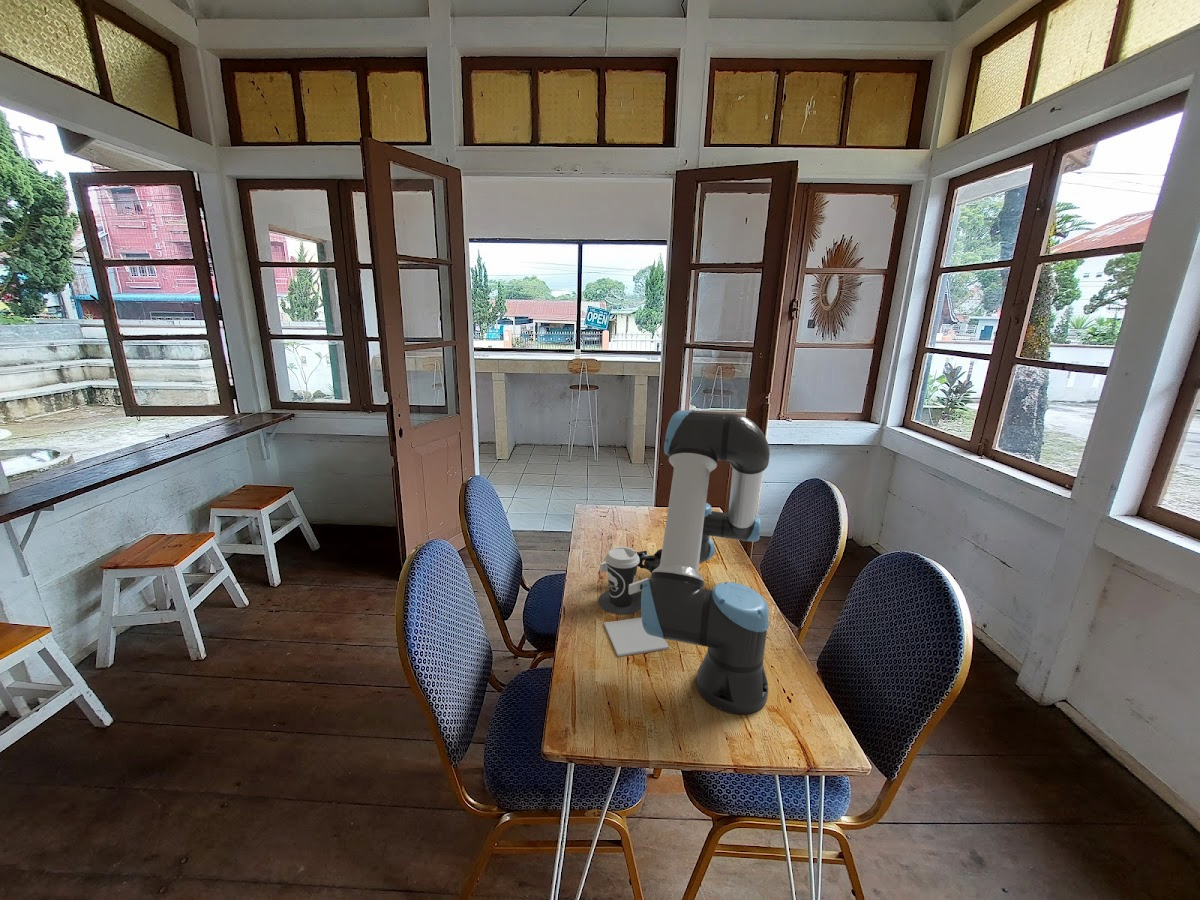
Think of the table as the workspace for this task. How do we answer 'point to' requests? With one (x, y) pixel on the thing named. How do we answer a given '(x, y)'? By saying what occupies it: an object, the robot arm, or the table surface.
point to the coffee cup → (621, 574)
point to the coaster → (607, 606)
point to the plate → (632, 637)
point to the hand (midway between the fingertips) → (614, 578)
